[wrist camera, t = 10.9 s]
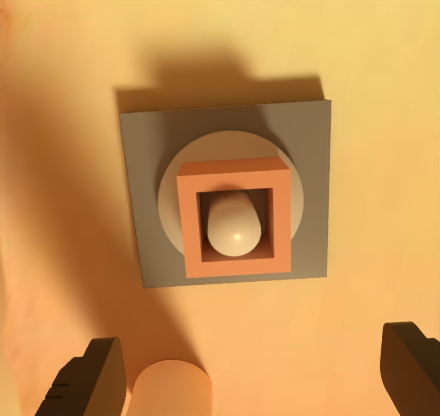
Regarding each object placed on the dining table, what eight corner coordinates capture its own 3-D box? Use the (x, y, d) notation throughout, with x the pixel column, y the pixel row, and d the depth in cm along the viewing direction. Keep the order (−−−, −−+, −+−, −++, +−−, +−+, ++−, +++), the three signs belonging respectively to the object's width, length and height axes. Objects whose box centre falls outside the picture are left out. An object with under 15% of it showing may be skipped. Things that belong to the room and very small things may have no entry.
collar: (279, 156, 25) (290, 169, 21) (280, 245, 27) (291, 271, 23) (182, 162, 25) (176, 176, 21) (190, 251, 27) (186, 278, 23)
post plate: (325, 99, 26) (365, 104, 19) (321, 268, 30) (353, 323, 23) (124, 112, 27) (91, 122, 19) (147, 278, 30) (125, 337, 23)
